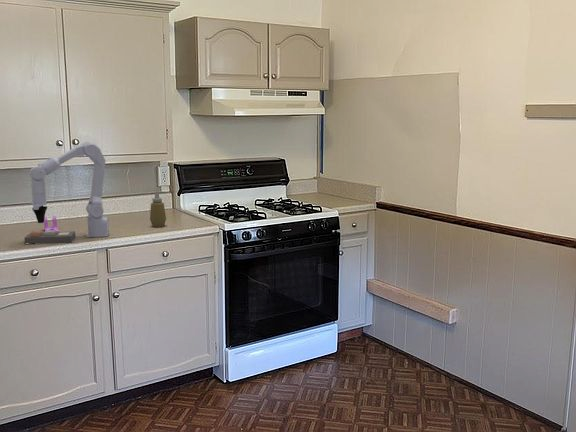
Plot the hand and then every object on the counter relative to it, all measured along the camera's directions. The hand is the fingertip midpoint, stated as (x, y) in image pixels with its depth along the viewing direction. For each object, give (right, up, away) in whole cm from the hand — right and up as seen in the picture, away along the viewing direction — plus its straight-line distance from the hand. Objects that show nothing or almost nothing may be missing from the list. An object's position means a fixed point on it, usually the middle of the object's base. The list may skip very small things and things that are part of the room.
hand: (41, 222), depth 270 cm
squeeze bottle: (+46, -2, +34) cm, 57 cm away
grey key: (+4, -7, +2) cm, 8 cm away
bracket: (-3, -5, +21) cm, 22 cm away
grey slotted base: (+4, -8, +2) cm, 9 cm away
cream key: (+10, -8, +3) cm, 13 cm away
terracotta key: (-2, -7, +1) cm, 7 cm away
